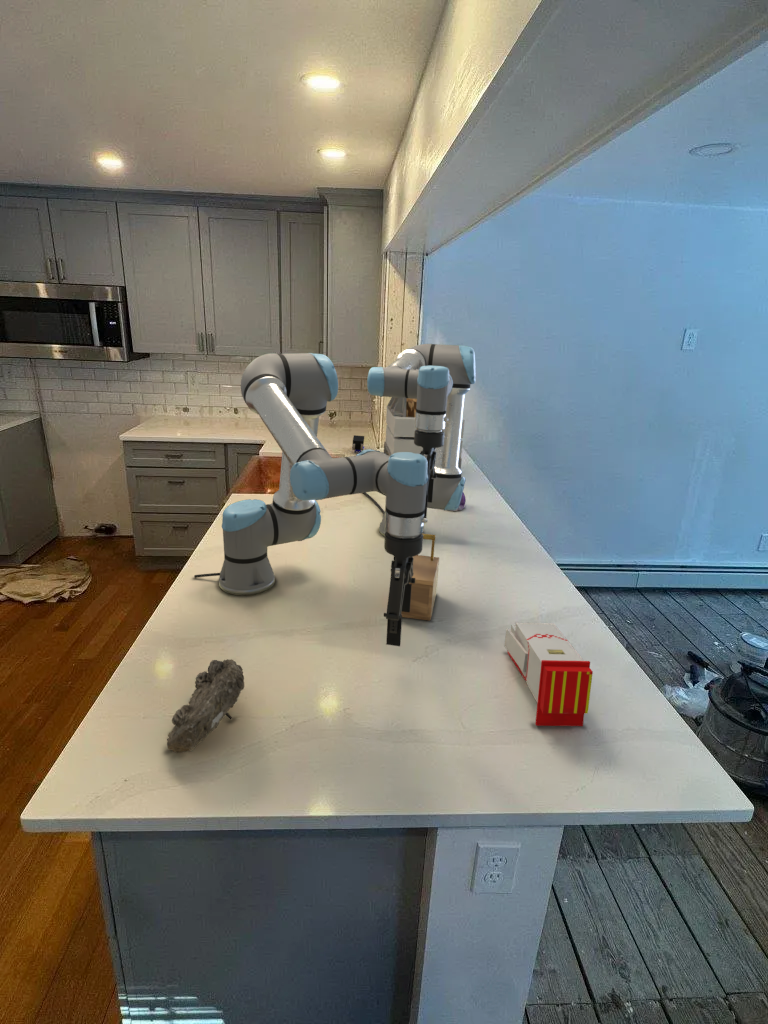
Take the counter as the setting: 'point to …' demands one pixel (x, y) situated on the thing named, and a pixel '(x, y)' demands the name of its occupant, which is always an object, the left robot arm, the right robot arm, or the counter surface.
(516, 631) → the toy
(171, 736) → the fossil
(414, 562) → the lid
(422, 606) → the chest
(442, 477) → the right robot arm
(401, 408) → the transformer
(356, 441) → the figurine character
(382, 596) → the counter surface
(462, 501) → the figurine
